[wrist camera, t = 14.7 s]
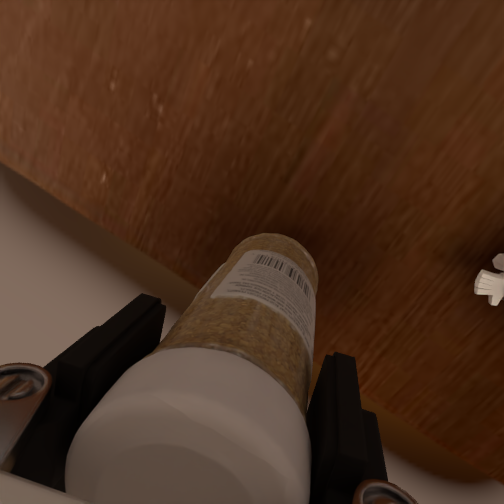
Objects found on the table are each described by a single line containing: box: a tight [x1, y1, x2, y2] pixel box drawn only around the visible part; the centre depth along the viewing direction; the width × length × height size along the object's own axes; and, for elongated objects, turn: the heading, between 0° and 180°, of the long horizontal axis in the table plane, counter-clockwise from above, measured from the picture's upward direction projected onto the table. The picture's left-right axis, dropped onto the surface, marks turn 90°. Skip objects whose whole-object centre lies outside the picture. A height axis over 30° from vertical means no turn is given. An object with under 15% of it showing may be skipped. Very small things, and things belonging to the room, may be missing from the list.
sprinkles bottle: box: [65, 233, 318, 504], centre depth 13 cm, size 5×5×14 cm
